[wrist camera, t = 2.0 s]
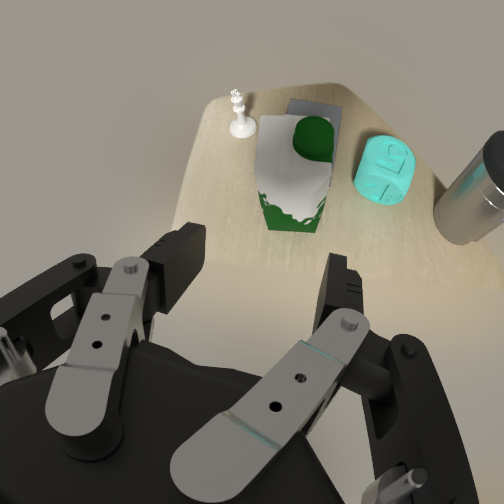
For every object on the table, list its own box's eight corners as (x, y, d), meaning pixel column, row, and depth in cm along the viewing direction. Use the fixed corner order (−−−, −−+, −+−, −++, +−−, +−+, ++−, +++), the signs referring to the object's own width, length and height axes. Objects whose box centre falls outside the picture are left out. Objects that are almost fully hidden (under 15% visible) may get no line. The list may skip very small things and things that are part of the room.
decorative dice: (349, 192, 48) (359, 166, 41) (362, 155, 50) (371, 127, 43) (394, 211, 47) (410, 188, 39) (404, 172, 48) (419, 147, 41)
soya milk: (320, 239, 47) (340, 168, 28) (261, 235, 48) (243, 163, 29) (321, 187, 49) (336, 101, 30) (265, 184, 50) (252, 98, 31)
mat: (342, 108, 54) (342, 107, 53) (329, 186, 49) (329, 186, 49) (290, 99, 55) (290, 98, 55) (269, 174, 51) (269, 174, 51)
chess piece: (247, 142, 53) (239, 104, 44) (224, 132, 54) (213, 95, 45) (262, 123, 54) (256, 85, 45) (239, 114, 55) (231, 77, 46)
